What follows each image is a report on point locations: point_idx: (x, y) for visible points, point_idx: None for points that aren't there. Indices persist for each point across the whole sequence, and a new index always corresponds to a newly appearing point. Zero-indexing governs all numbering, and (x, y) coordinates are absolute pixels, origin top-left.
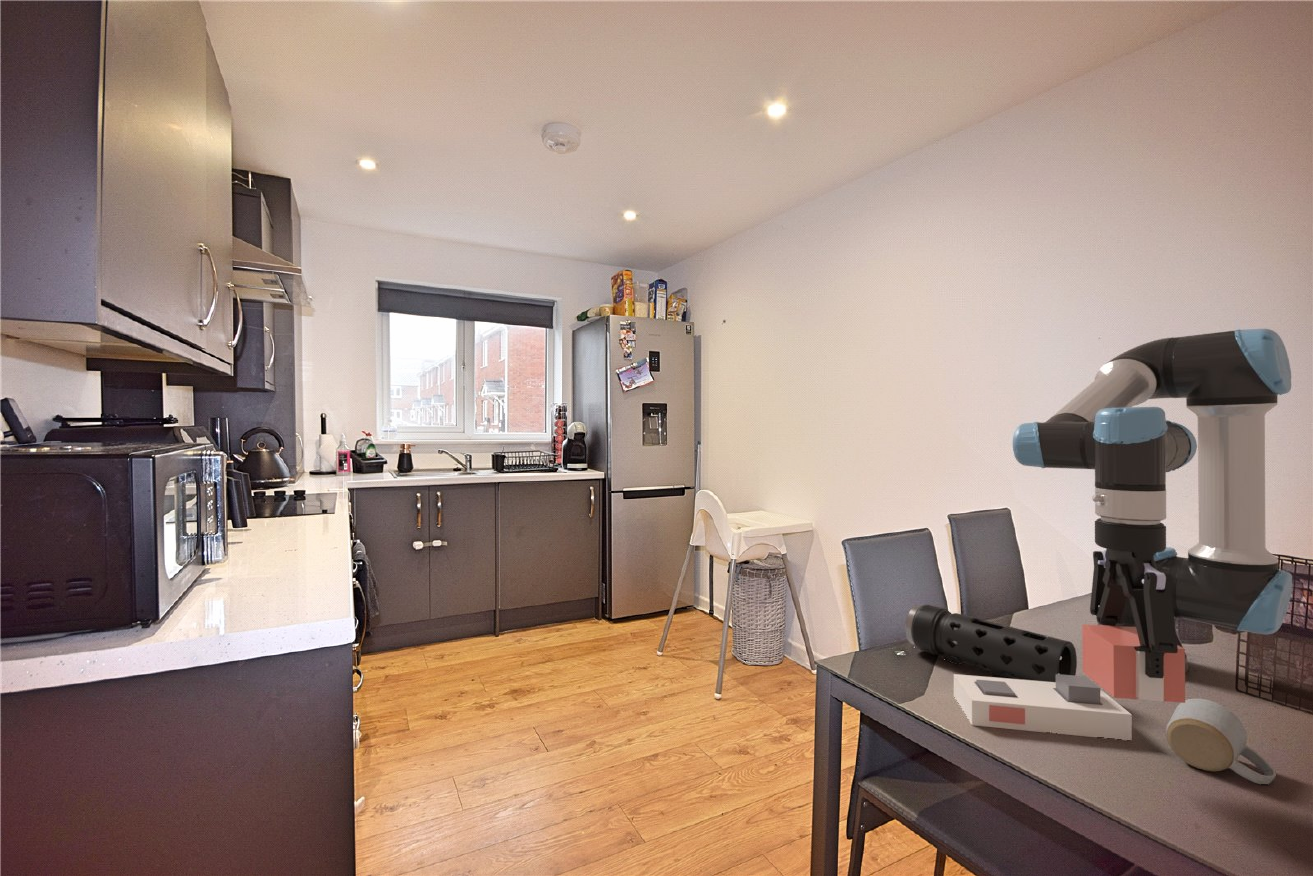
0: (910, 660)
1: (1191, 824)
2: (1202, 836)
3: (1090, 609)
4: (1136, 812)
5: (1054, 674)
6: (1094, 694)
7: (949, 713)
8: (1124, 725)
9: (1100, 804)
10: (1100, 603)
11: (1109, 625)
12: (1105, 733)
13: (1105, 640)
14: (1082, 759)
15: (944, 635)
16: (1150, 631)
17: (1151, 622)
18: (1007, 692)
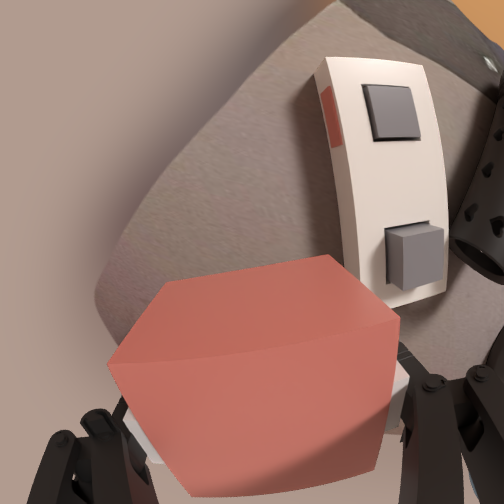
0: (478, 66)
1: (145, 297)
2: (127, 298)
3: (488, 373)
4: (141, 245)
5: (458, 233)
6: (397, 277)
7: (341, 52)
8: None
9: (140, 206)
10: (457, 444)
11: (404, 402)
12: (347, 269)
13: (170, 359)
14: (262, 214)
15: None
16: (49, 478)
17: (30, 500)
18: (378, 124)
